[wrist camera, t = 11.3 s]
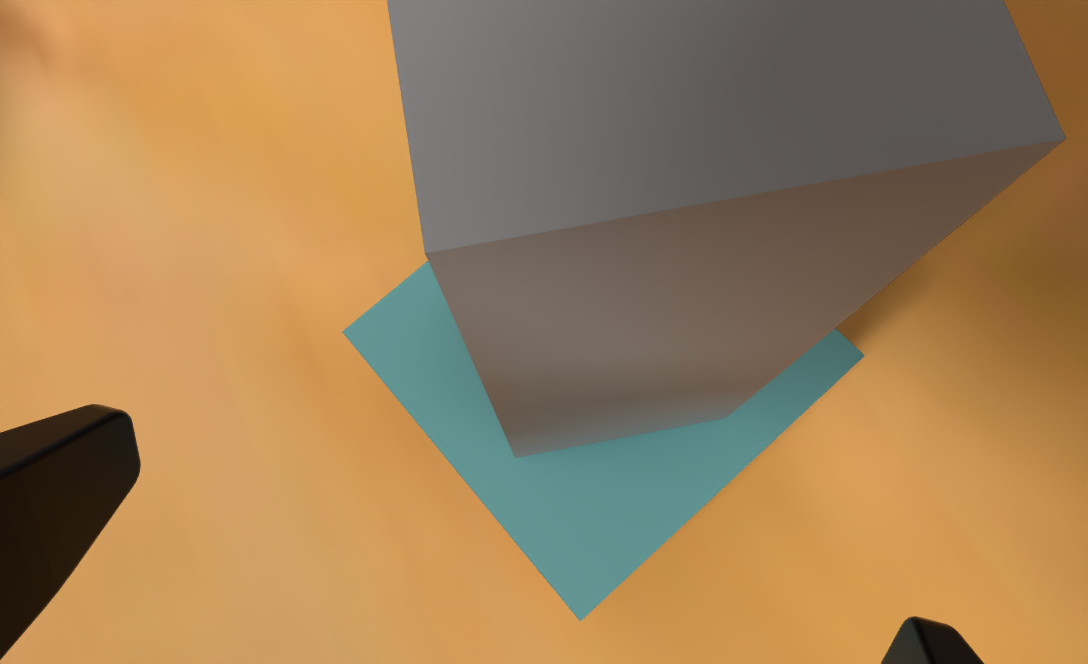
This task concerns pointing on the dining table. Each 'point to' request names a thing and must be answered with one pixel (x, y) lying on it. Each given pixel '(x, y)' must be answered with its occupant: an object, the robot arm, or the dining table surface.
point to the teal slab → (578, 472)
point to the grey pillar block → (691, 184)
